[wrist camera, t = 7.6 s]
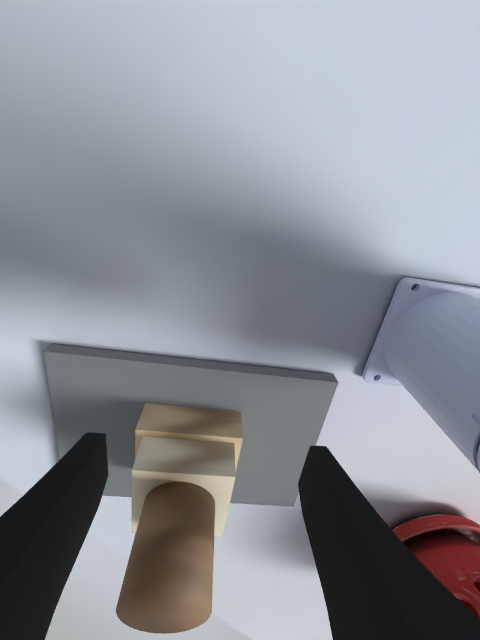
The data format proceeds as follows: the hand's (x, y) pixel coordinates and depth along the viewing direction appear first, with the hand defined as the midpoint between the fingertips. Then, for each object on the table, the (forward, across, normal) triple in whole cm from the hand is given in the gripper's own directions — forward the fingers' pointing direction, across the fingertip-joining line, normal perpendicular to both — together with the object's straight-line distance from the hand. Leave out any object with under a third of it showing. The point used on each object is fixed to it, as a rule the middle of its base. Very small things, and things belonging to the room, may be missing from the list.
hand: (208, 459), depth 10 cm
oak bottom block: (+9, +1, +10) cm, 13 cm away
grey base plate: (+10, +1, +10) cm, 14 cm away
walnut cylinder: (+4, +1, +10) cm, 11 cm away
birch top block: (+7, +1, +10) cm, 12 cm away
